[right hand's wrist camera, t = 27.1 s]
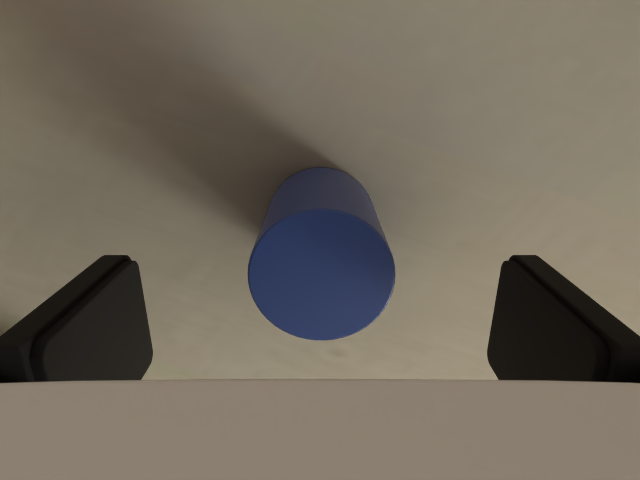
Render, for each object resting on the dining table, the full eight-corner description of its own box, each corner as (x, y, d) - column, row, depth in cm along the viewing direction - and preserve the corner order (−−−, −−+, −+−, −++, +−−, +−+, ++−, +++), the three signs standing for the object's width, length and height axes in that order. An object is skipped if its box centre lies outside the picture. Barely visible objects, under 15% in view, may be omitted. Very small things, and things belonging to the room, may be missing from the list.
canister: (393, 197, 15) (424, 249, 10) (342, 281, 16) (350, 360, 12) (296, 147, 14) (286, 182, 10) (251, 240, 15) (224, 307, 11)
